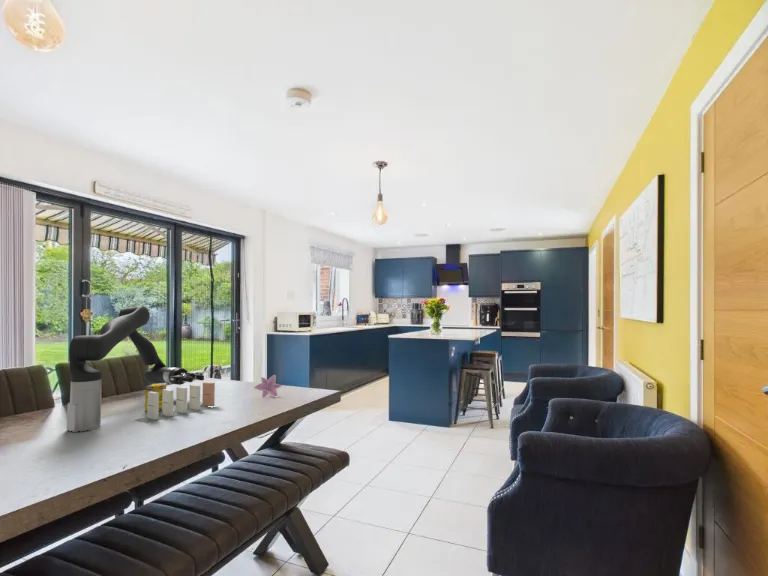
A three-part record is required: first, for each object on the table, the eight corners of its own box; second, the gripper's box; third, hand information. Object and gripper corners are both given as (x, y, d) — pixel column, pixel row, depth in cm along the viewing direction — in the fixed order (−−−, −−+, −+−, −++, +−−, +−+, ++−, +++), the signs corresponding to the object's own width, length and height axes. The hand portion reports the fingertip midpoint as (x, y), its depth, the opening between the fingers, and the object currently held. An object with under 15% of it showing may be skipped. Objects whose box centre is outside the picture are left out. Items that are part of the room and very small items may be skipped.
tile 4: (169, 416, 169) (169, 390, 169) (161, 414, 172) (162, 389, 172) (173, 415, 170) (173, 390, 171) (165, 413, 173) (166, 388, 173)
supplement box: (158, 412, 176) (159, 386, 177) (144, 412, 176) (144, 386, 177) (166, 409, 182) (166, 383, 182) (152, 409, 182) (153, 383, 183)
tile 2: (196, 410, 179) (196, 386, 180) (189, 408, 182) (189, 385, 182) (200, 409, 180) (200, 385, 181) (192, 407, 183) (193, 384, 184)
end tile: (154, 419, 164) (154, 393, 164) (147, 417, 167) (147, 392, 167) (158, 418, 165) (158, 392, 166) (151, 417, 168) (151, 391, 168)
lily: (250, 399, 206) (253, 383, 202) (261, 385, 217) (263, 370, 213) (273, 407, 205) (276, 391, 202) (283, 393, 216) (286, 378, 212)
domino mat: (146, 423, 159) (146, 423, 159) (133, 420, 164) (133, 419, 164) (218, 407, 185) (218, 406, 185) (205, 404, 190) (205, 404, 190)
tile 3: (183, 413, 174) (183, 388, 175) (176, 411, 177) (176, 387, 177) (186, 412, 175) (187, 387, 176) (179, 410, 178) (180, 386, 179)
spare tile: (211, 406, 186) (212, 383, 186) (202, 405, 187) (202, 382, 188) (214, 405, 187) (214, 382, 188) (204, 405, 189) (205, 382, 189)
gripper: (160, 369, 194) (182, 372, 185) (189, 365, 206) (211, 368, 197) (160, 386, 193) (182, 390, 184) (189, 381, 205) (211, 384, 196)
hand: (197, 378), depth 191 cm, fingers open, 5 cm apart
